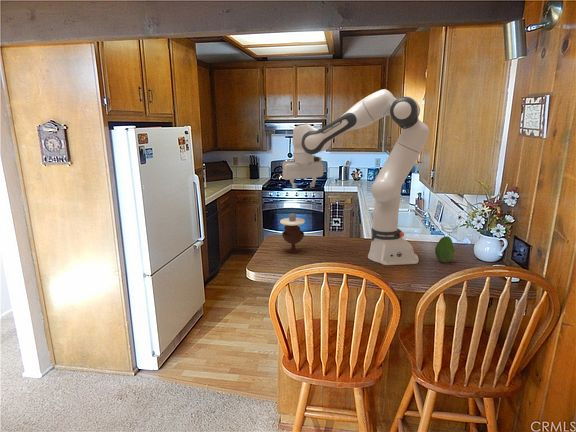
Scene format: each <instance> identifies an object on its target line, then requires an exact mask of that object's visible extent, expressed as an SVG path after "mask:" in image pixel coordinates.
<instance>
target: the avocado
mask: <svg viewBox="0 0 576 432" xmlns="http://www.w3.org/2000/svg"><path fill="white" fill-rule="evenodd" d="M434 253H435V256H436V258H437V260H438V261H439V262H441V263H446V264H447V263H449V262H451V261H452V260H453V258H454V256H455V247H454V243H453V240H452V237H450V236H448V235H446V236H445V235H444V236H442V237H441V238H440V239H439V241H438V242H437V244H436V245H435V248H434Z"/></svg>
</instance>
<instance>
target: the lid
mask: <svg viewBox="0 0 576 432" xmlns="http://www.w3.org/2000/svg"><path fill="white" fill-rule="evenodd" d="M305 221H306V220H305V219H304V218H302V217H296V213H289V214H288V217H286V218H282V219H280V221H279V223H280V224H281V225H283V226H285V225H289V226H295V225H297V226H301V225H304V224H305Z"/></svg>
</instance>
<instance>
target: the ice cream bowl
mask: <svg viewBox="0 0 576 432" xmlns="http://www.w3.org/2000/svg"><path fill="white" fill-rule="evenodd" d="M283 229H284V231H282V232H281V234H282V238H283V240H284V241H285V242H286V243H288V244H290V245H291V248H289V249H288V250H287V252H288V253H290V254H298V253H299V249H298V248H296V244H297V243H300V242H301V241H302V240H303V239H304V237H305V232H304V231H302V229H301V227H300V225H295V226H289V225H284V228H283Z"/></svg>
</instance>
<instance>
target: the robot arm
mask: <svg viewBox="0 0 576 432" xmlns="http://www.w3.org/2000/svg"><path fill="white" fill-rule="evenodd" d="M420 111H421V108H420V105H419V103H418V101H417V100H416V99H415V98H413V97H411V96H400V97H398V98H396V97H395V96H394V95H393V93H392V92H391V91H390V90H388V89H386V88H384V89H380V90H377V91H375V92H373V93H371V94H369V95H367V96H366V97H364V98H362V99H361V100H359V101H358V102H356V103H355V104H353V106H351V107H350V108H349V109H348V110H346V111H345V113H343V114H342V115H340V117H338V118H337V119H335V120H333V121H331V122H330V123H328V124H326V125H325V126H324V127H322V128H319V129H318V128H316V127H314V126H312V125H311V124H309V123H301V124H298V125H296V126H295V127H294V128H293V131H292V145H293V152H292V156H293V157H292V158H293V159H285V160H284V161H283V162H282V164H281V166H282V178H283V180H285V181H288V180H289V182H290V184H291V186H292V187H291V188H292V189H297V184H295V183H294V182H295V180H300V179H312V181H311V182H310V183H309V185H310V188H313V187H315V183H316V181H317V178H321V177H323V176H324V165H323V163H322V157H320V156H316V154H318V153H323V152H325V151H327V150H328V149H329V148H330V147H331V145H332V140H333V139H335V138H337V137H338V136H340V135H341V134H343V133H346V132H349V131H354V130H359V129H363V128H366V127H368V126H370V125H372V124H374V123H376V122H377V121H378V120H380V119H382V118H384V117H387V116H390V117H391V119H392V121H393V122H394V123H395V124H396V125H398V126H399V128H401V132H400V135H399V137H398V138H397V140H396V142H395V144H394V146H393V148H392V149H391V151H390V154H389V155H388V157H387V159H386V160H385V162H384V163H383V165H382V167H381V169H380V171H379V172H378V174H377V176H376V178H375V179H374V180H373V182H372V186H371V195H372V197H373V198H374V206H373V210H372V211H373V212H372V227H371V231H370V240H371V242H370V243H371V244H370V249H369V250H368V254H367V258H368V259H369V260H370V261H372V262H375V263H378V264H381V265H384V266H395V265H397V266H399V265H417V264H418V263H419V260H420V259H419V256H418V255H417V254H416V253H415V252H414V248H413V245H412V244H411V243H410V242H409V241H407V240H406V239H405V238H404V237H405V232H403V231H402V230H401V229H400V228H398V227H399V226H398V225H399V209H400V201H401V195H402V194H401V193H402V186H403V184H404V183H405V181H406V179H407V178H408V176H409V174H410V172H411V171H412V169H413V167H414V165H415V164H416V163H417V160H418V158H419V156H420V155H421V153H422V151H423V149H424V147H425V145H426V143H427V140H428V137H429V135H430V128H429V126H428V125H427V124H426V122H423V121H421V120H420V119H419V116H420V113H421V112H420Z"/></svg>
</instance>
